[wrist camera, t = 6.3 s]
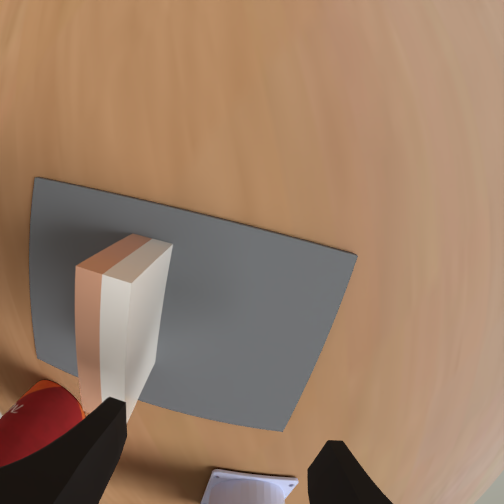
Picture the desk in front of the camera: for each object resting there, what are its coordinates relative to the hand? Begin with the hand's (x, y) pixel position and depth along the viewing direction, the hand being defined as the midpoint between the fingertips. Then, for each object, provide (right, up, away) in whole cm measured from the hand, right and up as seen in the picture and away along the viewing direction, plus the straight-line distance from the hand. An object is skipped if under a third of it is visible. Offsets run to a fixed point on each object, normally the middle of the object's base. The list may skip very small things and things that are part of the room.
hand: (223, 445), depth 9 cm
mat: (-5, +2, +9) cm, 10 cm away
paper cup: (-16, -7, +11) cm, 21 cm away
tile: (-5, +4, +8) cm, 10 cm away
